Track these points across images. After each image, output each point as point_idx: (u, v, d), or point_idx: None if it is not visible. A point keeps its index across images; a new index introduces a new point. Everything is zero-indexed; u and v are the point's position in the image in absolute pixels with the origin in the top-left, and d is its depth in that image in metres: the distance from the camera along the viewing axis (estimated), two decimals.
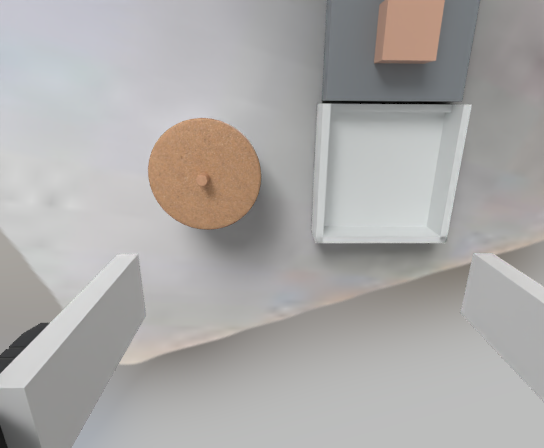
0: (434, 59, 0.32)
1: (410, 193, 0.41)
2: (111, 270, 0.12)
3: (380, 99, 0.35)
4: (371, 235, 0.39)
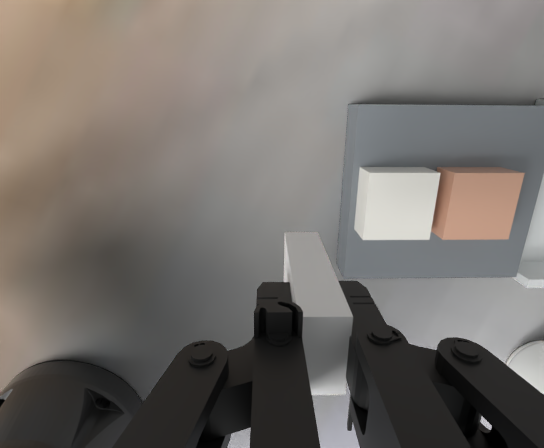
0: (522, 174, 0.24)
1: None
2: (294, 243, 0.14)
3: (530, 216, 0.28)
4: None
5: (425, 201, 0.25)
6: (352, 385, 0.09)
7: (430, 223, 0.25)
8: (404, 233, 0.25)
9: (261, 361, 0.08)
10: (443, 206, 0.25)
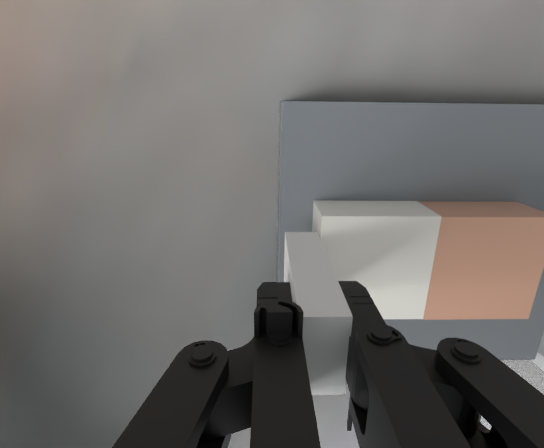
0: None
1: None
2: (294, 243, 0.14)
3: None
4: None
5: (416, 261, 0.15)
6: (352, 385, 0.09)
7: (424, 294, 0.15)
8: (382, 310, 0.16)
9: (261, 361, 0.08)
10: None
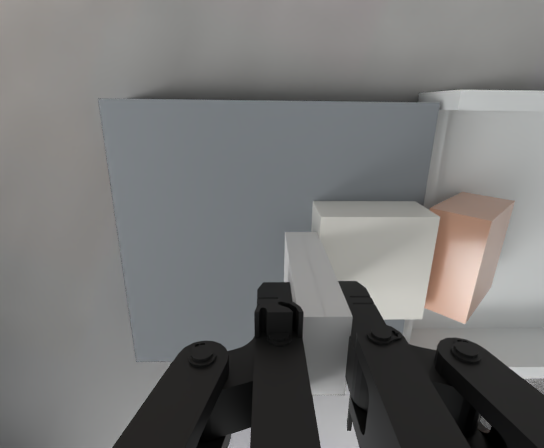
0: (513, 203, 0.18)
1: None
2: (294, 243, 0.14)
3: None
4: None
5: (415, 261, 0.15)
6: (352, 385, 0.09)
7: (423, 295, 0.16)
8: (381, 310, 0.16)
9: (261, 361, 0.08)
10: (459, 272, 0.15)
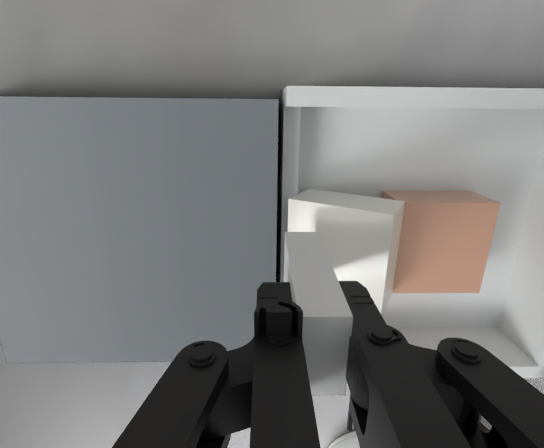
0: (383, 192, 0.19)
1: (467, 158, 0.18)
2: (294, 243, 0.14)
3: (273, 273, 0.18)
4: None
5: (371, 255, 0.15)
6: (352, 385, 0.09)
7: (381, 291, 0.16)
8: None
9: (261, 361, 0.08)
10: None
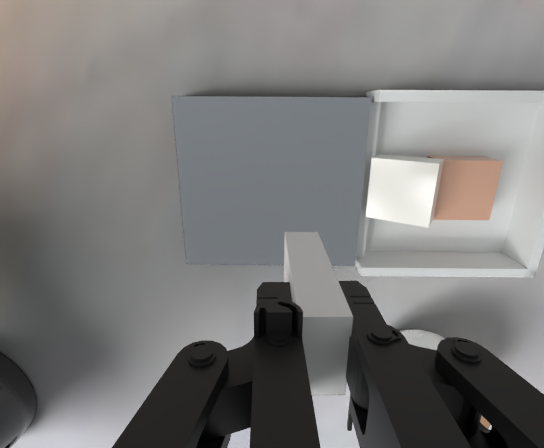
0: (427, 157, 0.30)
1: (482, 134, 0.29)
2: (294, 243, 0.14)
3: (359, 205, 0.29)
4: (542, 204, 0.28)
5: (424, 189, 0.26)
6: (352, 385, 0.09)
7: (429, 211, 0.26)
8: (403, 217, 0.28)
9: (261, 361, 0.08)
10: None
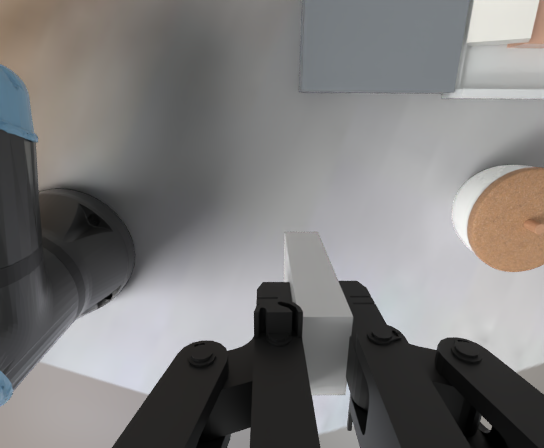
0: None
1: None
2: (294, 243, 0.14)
3: (463, 28, 0.32)
4: None
5: (528, 0, 0.30)
6: (352, 385, 0.09)
7: (532, 21, 0.30)
8: (505, 33, 0.31)
9: (261, 361, 0.08)
10: None
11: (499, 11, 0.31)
